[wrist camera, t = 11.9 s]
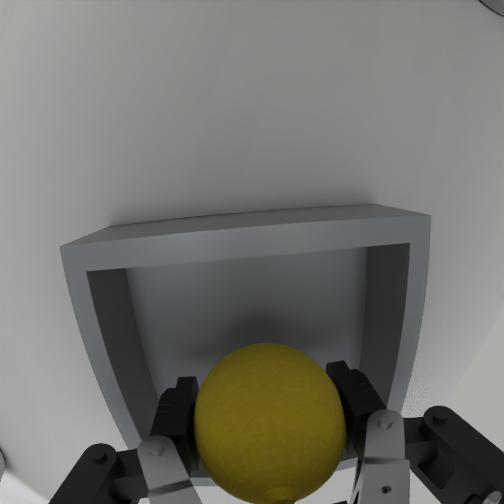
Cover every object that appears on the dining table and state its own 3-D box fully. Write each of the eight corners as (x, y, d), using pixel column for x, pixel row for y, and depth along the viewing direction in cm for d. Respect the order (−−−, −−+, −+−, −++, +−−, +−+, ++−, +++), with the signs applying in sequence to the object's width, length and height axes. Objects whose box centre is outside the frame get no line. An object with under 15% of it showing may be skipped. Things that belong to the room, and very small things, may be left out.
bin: (108, 226, 14) (59, 246, 9) (375, 204, 15) (430, 215, 10) (160, 429, 17) (148, 483, 13) (359, 408, 18) (385, 457, 13)
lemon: (313, 303, 13) (393, 429, 5) (315, 395, 15) (360, 517, 7) (191, 318, 13) (156, 462, 5) (212, 408, 14) (206, 539, 7)
